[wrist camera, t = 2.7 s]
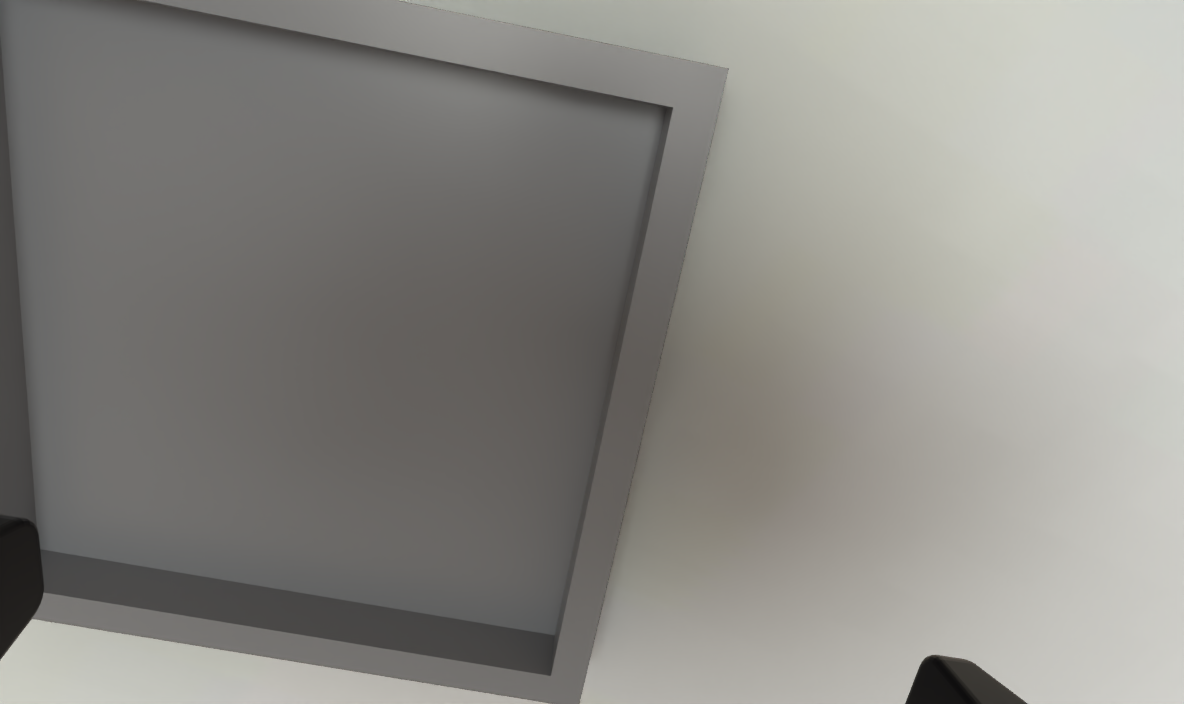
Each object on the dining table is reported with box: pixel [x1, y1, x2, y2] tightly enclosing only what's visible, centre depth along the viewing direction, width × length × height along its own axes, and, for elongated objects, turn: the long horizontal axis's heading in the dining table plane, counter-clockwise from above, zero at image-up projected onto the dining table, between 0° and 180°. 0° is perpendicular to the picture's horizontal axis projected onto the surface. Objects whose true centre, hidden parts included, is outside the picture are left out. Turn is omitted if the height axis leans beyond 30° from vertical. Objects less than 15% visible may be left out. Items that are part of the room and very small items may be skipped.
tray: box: [0, 0, 729, 704], centre depth 19 cm, size 18×18×2 cm
